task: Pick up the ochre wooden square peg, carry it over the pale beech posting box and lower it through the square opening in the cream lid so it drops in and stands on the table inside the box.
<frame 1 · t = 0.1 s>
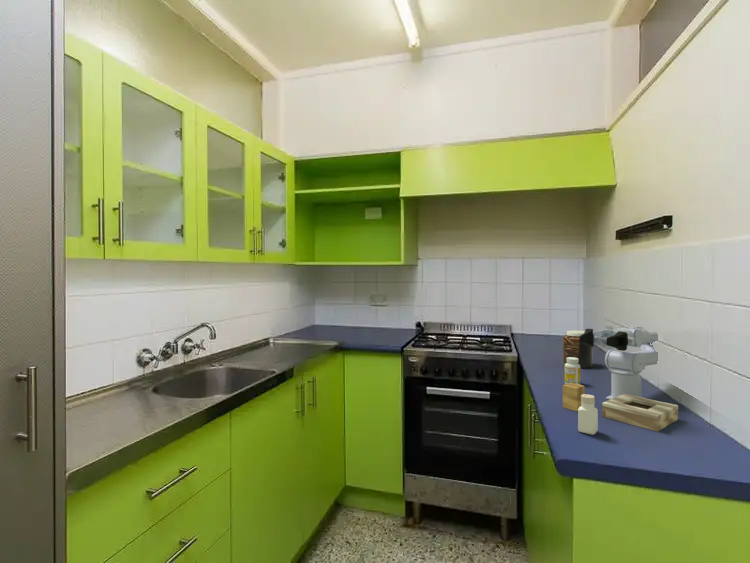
hand: (594, 340, 121), 22 cm above the countertop, tool horizontal, fingers open, 7 cm apart
pepper shaker: (588, 432, 107), on the countertop
supplement bottle: (572, 384, 152), on the countertop
jar: (577, 366, 180), on the countertop
posting box: (639, 417, 116), on the countertop
ochre peg: (573, 407, 126), on the countertop
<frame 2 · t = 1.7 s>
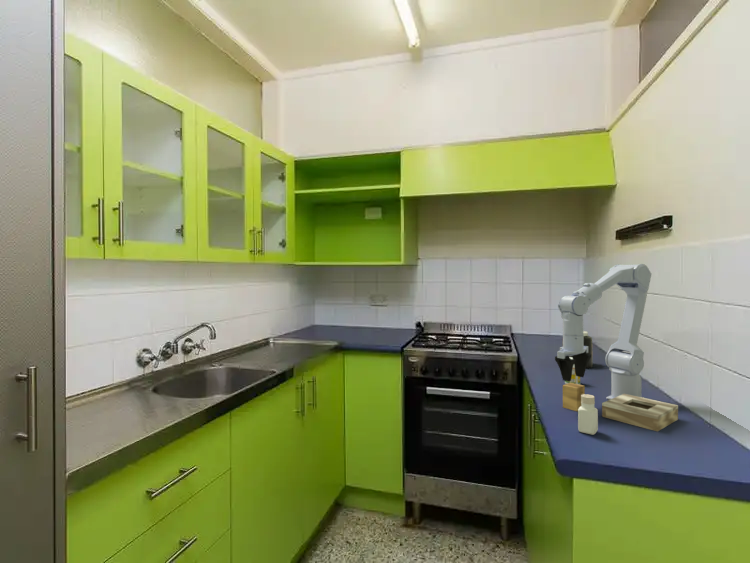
hand: (573, 378, 125), 9 cm above the countertop, tool pointing down, fingers open, 7 cm apart
nothing on the countertop moved.
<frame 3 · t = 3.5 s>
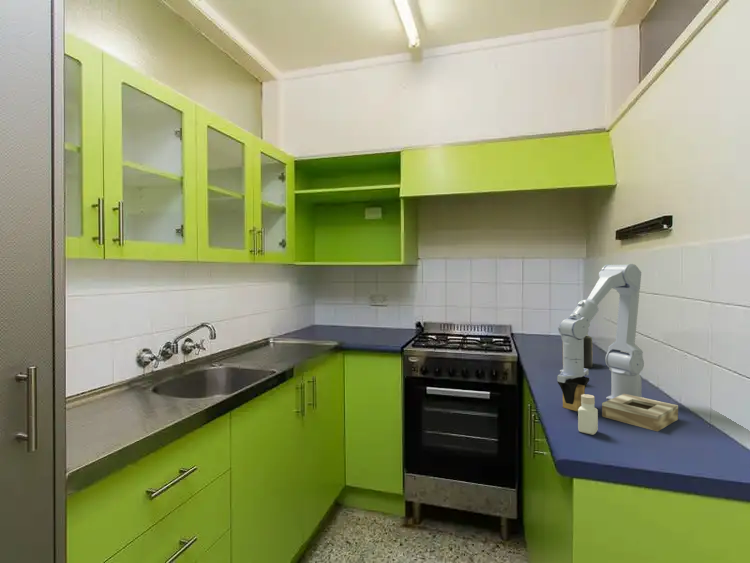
hand: (573, 401, 126), 2 cm above the countertop, tool pointing down, fingers closed on ochre peg, 4 cm apart
ochre peg: (573, 407, 126), on the countertop, touching gripper
everything else where it was.
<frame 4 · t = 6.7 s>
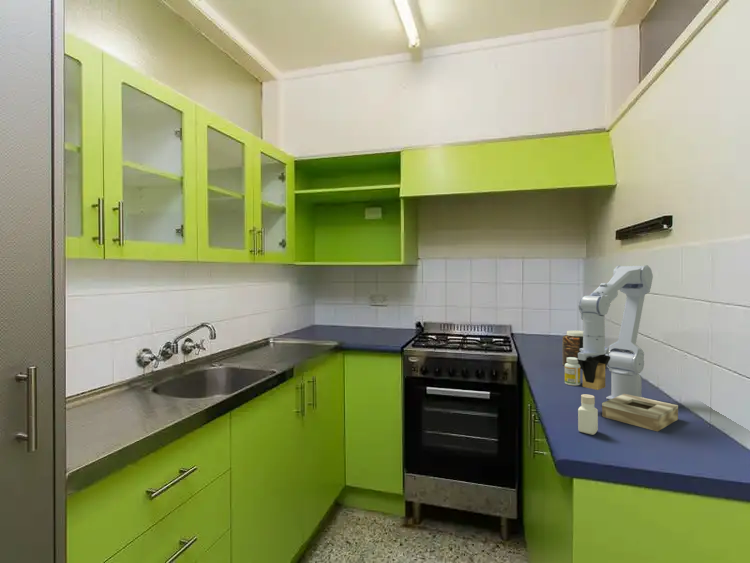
hand: (594, 380, 122), 9 cm above the countertop, tool pointing down, fingers closed on ochre peg, 4 cm apart
ochre peg: (593, 387, 122), point 7 cm above the countertop, touching gripper
everything else where it was.
when the fingers open (5 cm above the countertop, at t = 10.1 s): ochre peg drops 3 cm, resting in posting box.
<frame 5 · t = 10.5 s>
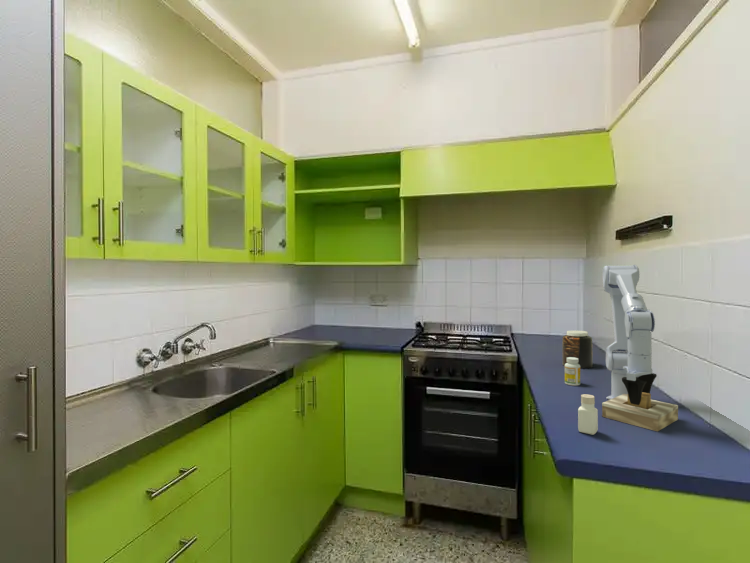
hand: (639, 400, 116), 5 cm above the countertop, tool pointing down, fingers open, 7 cm apart
ochre peg: (639, 418, 116), resting in posting box
everything else where it was.
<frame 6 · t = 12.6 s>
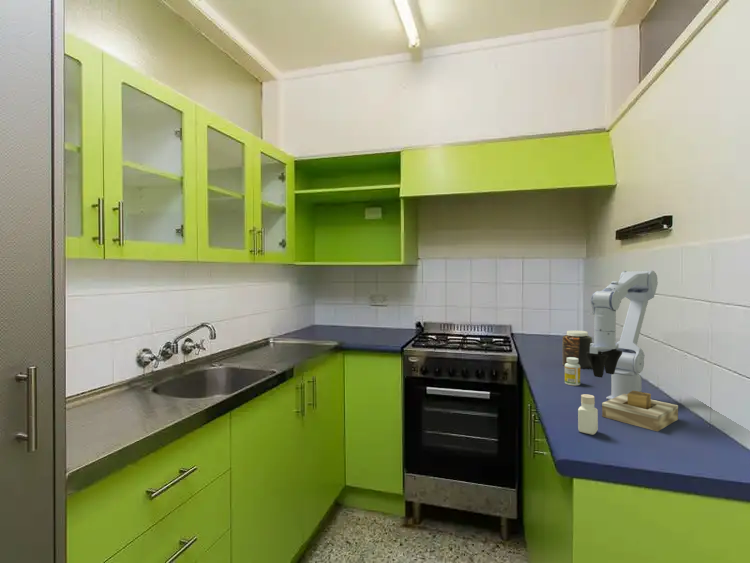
hand: (604, 375, 124), 10 cm above the countertop, tool pointing down, fingers open, 7 cm apart
nothing on the countertop moved.
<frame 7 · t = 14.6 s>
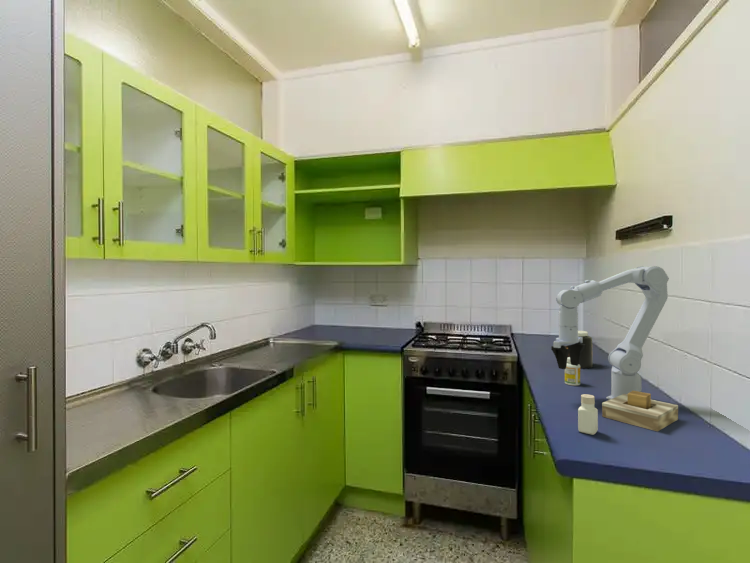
hand: (568, 366, 135), 10 cm above the countertop, tool pointing down, fingers open, 7 cm apart
nothing on the countertop moved.
at the end: ochre peg inside the target area on the posting box (0.1 cm from its centre), point 0.0 cm above the posting box's base; ochre peg tilted 0°; the gripper is holding nothing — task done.
